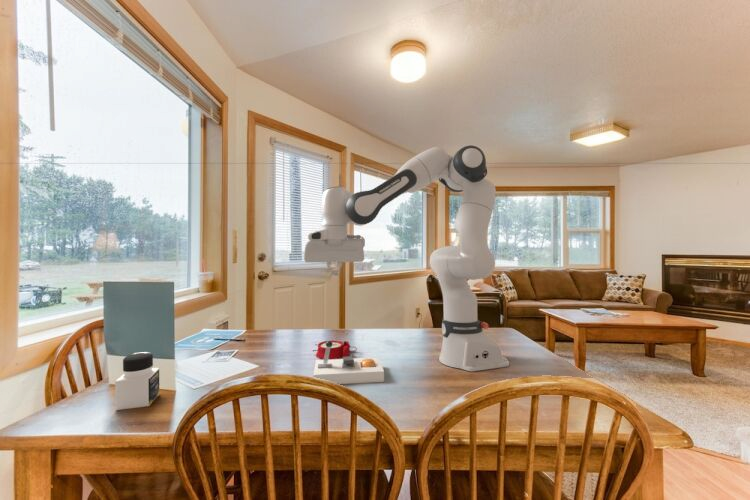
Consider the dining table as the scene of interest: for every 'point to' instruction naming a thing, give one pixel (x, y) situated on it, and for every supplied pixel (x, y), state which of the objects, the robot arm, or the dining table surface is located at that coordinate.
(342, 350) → the alarm clock
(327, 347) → the lever
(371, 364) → the button
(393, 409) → the dining table surface
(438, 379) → the dining table surface
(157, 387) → the medicine bottle
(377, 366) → the panel
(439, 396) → the dining table surface
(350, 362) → the rocker
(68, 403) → the dining table surface
